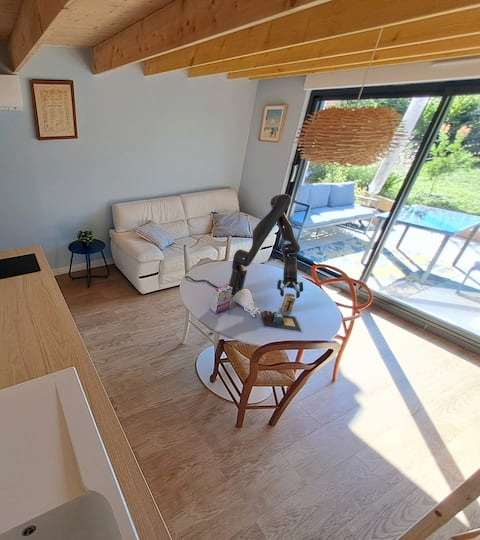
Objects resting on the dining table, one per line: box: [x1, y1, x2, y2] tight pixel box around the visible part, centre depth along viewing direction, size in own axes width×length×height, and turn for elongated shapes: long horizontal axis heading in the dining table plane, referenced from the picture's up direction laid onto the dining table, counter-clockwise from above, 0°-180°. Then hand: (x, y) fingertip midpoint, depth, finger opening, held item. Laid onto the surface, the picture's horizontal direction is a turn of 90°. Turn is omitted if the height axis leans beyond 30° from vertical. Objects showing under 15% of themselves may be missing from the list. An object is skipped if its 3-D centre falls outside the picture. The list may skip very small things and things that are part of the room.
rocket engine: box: [232, 288, 262, 318], centre depth 183 cm, size 12×12×18 cm
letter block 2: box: [272, 311, 283, 323], centre depth 173 cm, size 4×4×5 cm
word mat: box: [260, 311, 302, 332], centre depth 173 cm, size 20×14×1 cm
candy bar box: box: [210, 284, 233, 314], centre depth 181 cm, size 11×5×16 cm, turn 117°
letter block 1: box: [261, 310, 273, 322], centre depth 174 cm, size 4×4×5 cm
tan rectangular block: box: [280, 292, 297, 314], centre depth 180 cm, size 5×5×12 cm
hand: (289, 297), depth 178 cm, fingers open, 8 cm apart
